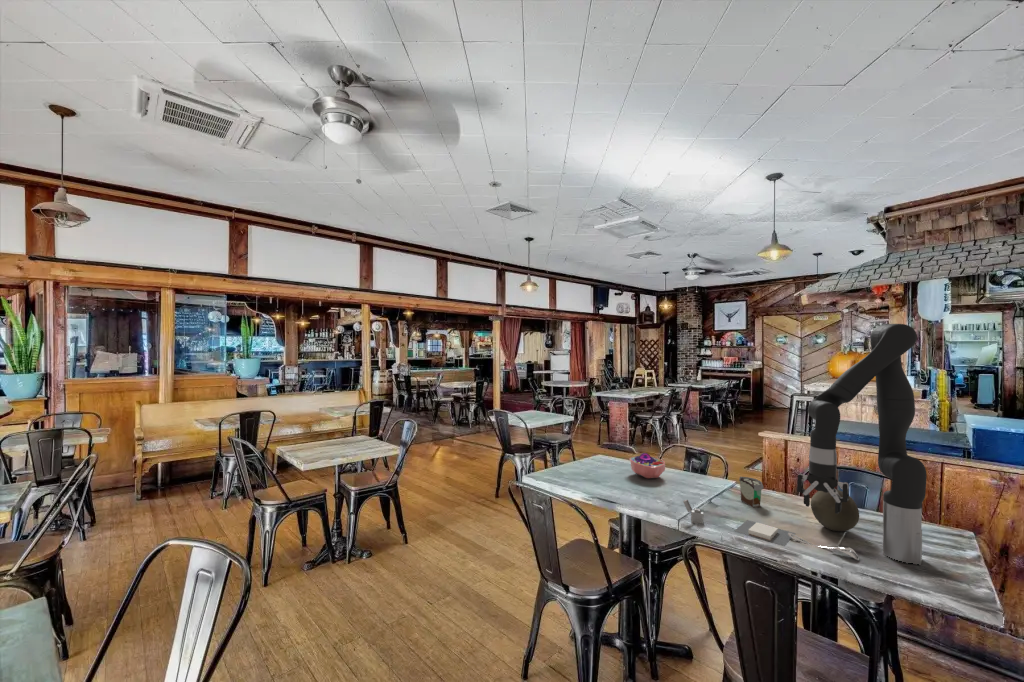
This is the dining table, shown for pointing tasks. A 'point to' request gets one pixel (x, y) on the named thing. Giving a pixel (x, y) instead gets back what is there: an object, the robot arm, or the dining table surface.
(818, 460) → the robot arm
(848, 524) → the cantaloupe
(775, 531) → the tile
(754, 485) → the food container
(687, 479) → the dining table surface
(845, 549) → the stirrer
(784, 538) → the mat
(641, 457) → the cell model
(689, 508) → the lighter
